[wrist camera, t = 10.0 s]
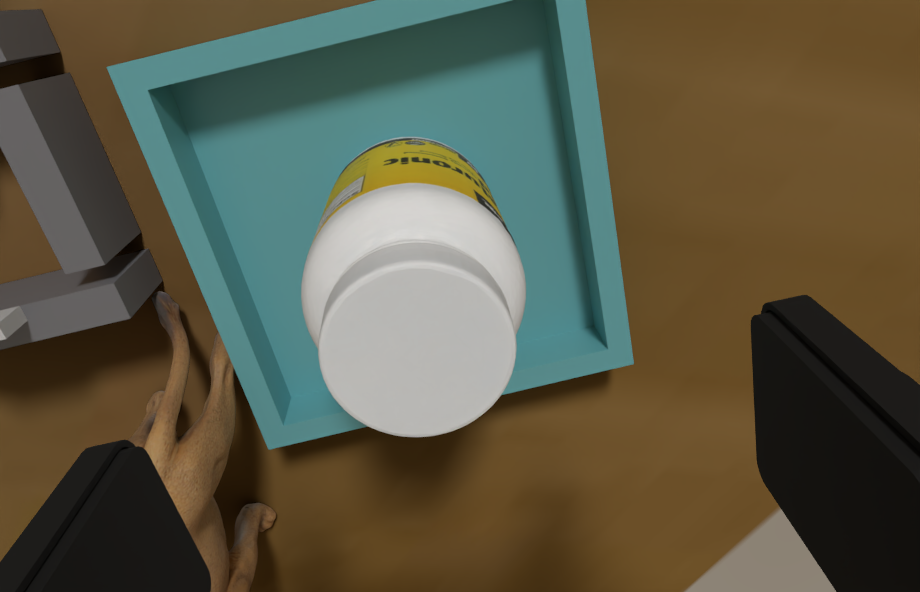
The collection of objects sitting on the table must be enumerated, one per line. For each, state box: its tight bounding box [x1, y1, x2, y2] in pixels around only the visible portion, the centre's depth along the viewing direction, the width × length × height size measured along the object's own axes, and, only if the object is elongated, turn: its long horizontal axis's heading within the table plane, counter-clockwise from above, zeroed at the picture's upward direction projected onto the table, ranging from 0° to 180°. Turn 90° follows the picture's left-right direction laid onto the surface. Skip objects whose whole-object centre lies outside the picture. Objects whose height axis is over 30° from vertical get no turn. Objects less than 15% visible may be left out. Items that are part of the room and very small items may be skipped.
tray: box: [107, 0, 634, 450], centre depth 22 cm, size 13×13×2 cm
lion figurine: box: [128, 291, 276, 592], centre depth 22 cm, size 15×5×9 cm, turn 8°
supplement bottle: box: [301, 137, 526, 437], centre depth 18 cm, size 5×5×10 cm
